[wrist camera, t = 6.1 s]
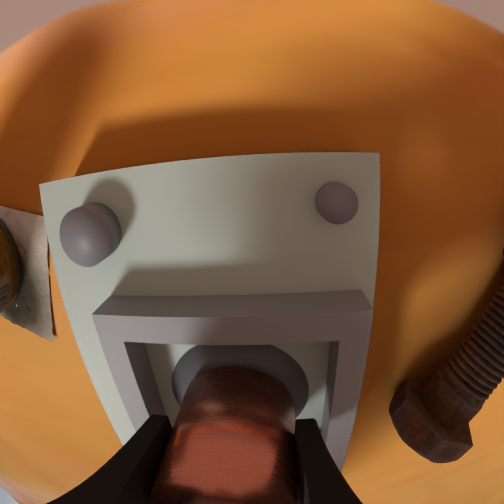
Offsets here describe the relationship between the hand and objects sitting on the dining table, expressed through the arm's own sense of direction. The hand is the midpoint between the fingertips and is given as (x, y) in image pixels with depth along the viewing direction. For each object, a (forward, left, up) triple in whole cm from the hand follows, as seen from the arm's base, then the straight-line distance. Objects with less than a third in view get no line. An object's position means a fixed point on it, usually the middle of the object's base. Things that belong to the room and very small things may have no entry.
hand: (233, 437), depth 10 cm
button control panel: (+2, +1, -5) cm, 5 cm away
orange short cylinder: (0, 0, -2) cm, 2 cm away
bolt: (+2, -13, -5) cm, 14 cm away
